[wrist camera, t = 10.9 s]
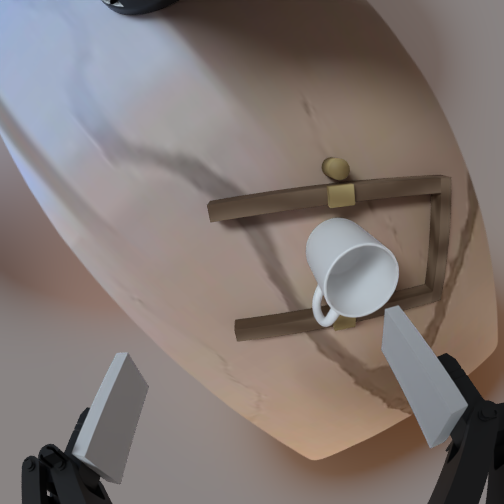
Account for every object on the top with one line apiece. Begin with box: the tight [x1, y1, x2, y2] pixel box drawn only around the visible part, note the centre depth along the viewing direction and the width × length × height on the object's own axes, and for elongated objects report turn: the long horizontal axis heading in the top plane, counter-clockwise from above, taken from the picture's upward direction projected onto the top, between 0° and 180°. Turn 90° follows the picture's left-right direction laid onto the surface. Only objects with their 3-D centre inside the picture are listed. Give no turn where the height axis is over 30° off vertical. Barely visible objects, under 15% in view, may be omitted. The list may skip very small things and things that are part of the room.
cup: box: [306, 218, 399, 327], centre depth 32 cm, size 8×12×10 cm
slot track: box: [207, 157, 451, 341], centre depth 34 cm, size 22×32×3 cm
